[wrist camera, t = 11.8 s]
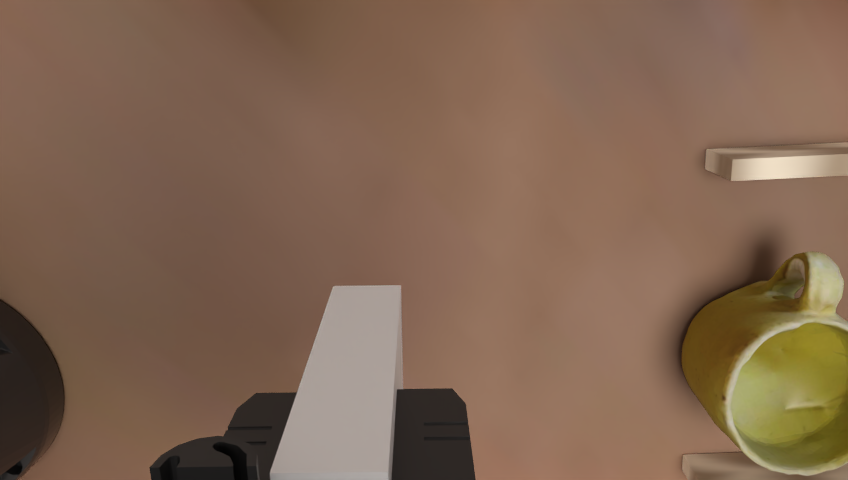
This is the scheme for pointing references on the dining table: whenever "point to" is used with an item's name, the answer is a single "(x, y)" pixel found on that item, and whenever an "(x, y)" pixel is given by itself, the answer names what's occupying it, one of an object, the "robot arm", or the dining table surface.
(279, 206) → the dining table surface
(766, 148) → the cradle
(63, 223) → the dining table surface
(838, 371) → the mug
